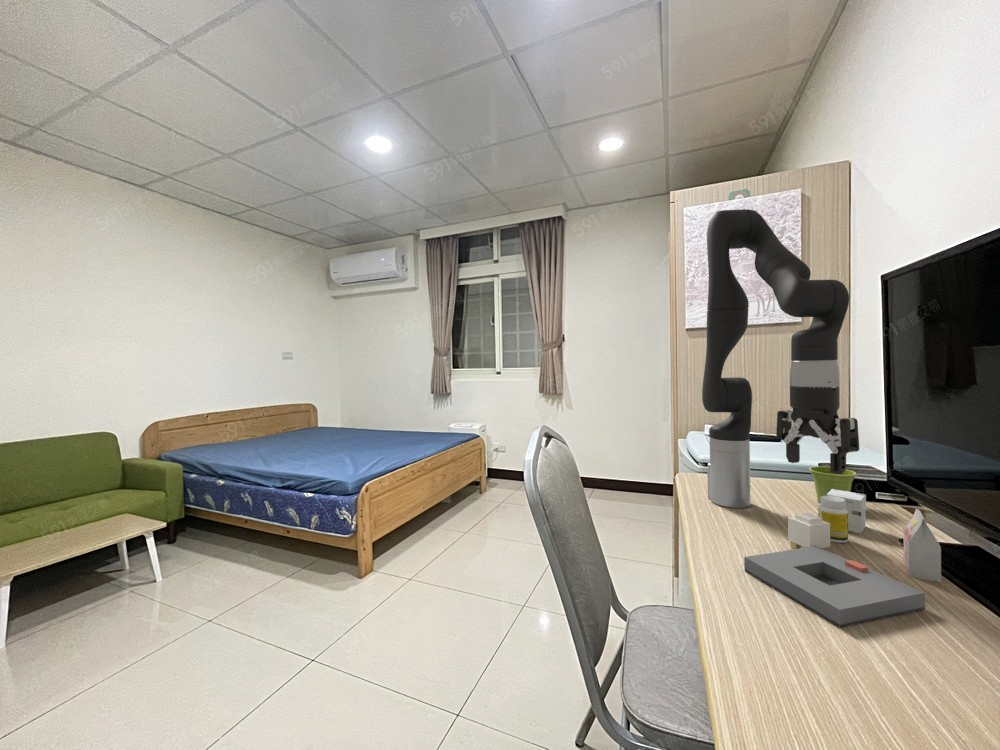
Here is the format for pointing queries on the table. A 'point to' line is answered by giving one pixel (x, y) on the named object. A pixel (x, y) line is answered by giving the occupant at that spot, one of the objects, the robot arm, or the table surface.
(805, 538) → the plug
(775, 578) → the socket
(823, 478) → the plant pot
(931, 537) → the tea bag
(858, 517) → the skincare box
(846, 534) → the supplement bottle
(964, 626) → the table surface
